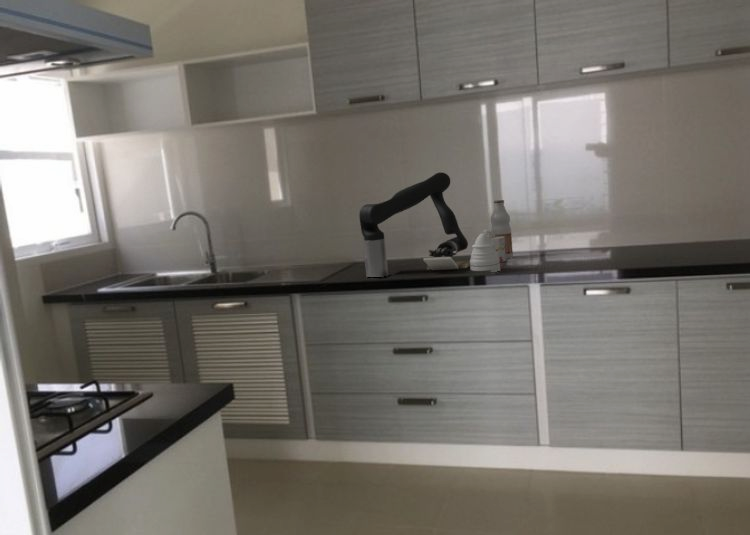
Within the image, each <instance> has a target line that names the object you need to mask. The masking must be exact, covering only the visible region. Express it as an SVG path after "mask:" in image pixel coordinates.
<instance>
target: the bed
mask: <svg viewBox="0 0 750 535" xmlns="http://www.w3.org/2000/svg"><path fill="white" fill-rule="evenodd" d="M454 262H455V263H456V264H457V266H458V267H459V269H467V268H468V267H470V260H459V261H458V260H457V261H455V260H454ZM426 270H432V269H431V268H430V267H429V266H428V265H427V266H426ZM432 271H433V270H432Z"/></svg>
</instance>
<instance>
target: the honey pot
mask: <svg viewBox="0 0 750 535" xmlns="http://www.w3.org/2000/svg"><path fill="white" fill-rule="evenodd" d="M489 232H491V231H490V229H484V230H483V233H480V234H479V235H478V236H477V238H476V239H475V242H474V244H473V245H472V246H471V247H472V251H471V255H470V258H469V259H470V260H469V261H470V266H469V270H470V271H473V272H484V271H485V272H486V271H487V272H488V271H489V272H497V271H500V272H501V263H500V262H501V260H500V259H499V257H498V255H497V253H496V250H495V248H494V246H495V245H496V244H495V243H492V242H491V240H490V239H489ZM497 273H498V272H497Z"/></svg>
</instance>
